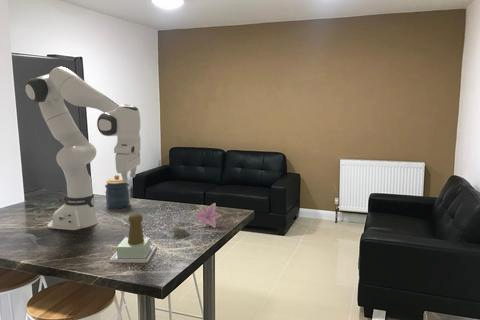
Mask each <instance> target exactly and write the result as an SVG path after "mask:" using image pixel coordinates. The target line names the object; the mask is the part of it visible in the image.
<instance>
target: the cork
mask: <svg viewBox="0 0 480 320" xmlns="http://www.w3.org/2000/svg"><path fill="white" fill-rule="evenodd" d="M128 222H129V230H128V231H129V232H128V243H129V244H132V245H138V244H141V243H143V242H144V238H145V237H144V233H143V227H142V222H143V215H142V214H140V213H132V214H129V216H128Z"/></svg>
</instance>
